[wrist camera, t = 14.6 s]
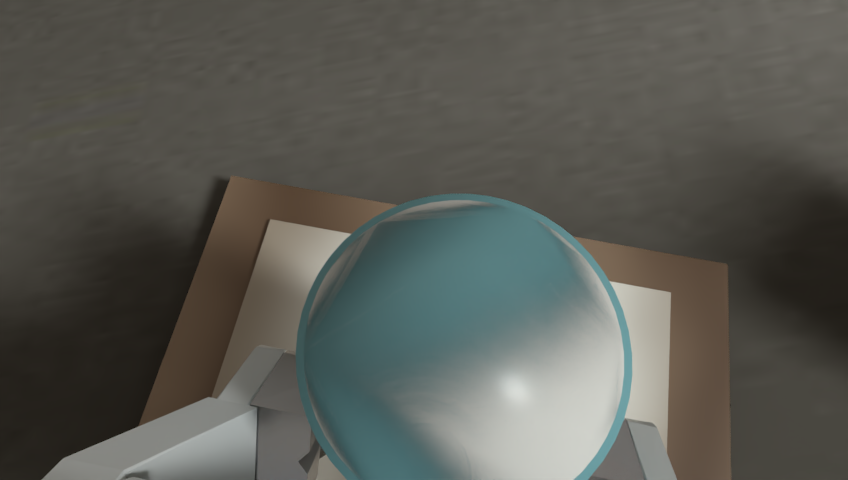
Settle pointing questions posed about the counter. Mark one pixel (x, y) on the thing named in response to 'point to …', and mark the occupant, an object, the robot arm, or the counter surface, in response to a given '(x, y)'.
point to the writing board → (341, 215)
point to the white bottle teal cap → (463, 347)
